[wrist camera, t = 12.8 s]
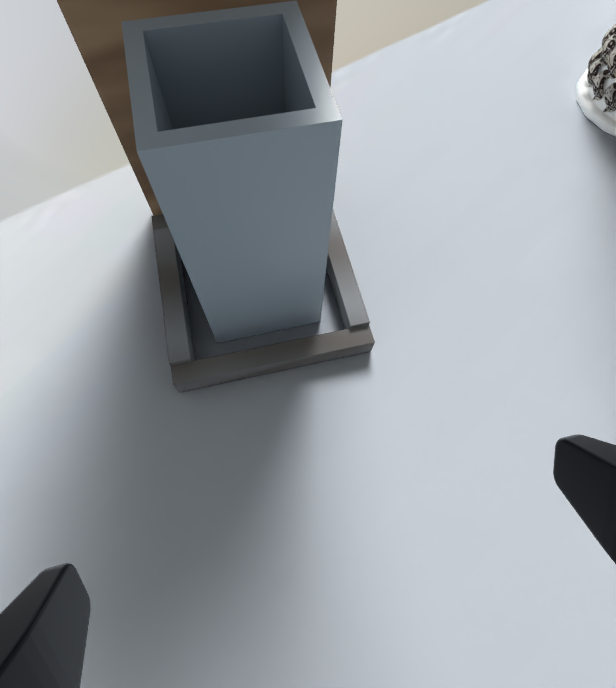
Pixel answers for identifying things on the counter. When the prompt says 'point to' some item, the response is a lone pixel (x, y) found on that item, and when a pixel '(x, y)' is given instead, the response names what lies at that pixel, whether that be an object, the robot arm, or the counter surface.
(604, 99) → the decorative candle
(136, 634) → the counter surface
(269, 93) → the sleeve
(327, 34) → the wooden c-shaped stand
